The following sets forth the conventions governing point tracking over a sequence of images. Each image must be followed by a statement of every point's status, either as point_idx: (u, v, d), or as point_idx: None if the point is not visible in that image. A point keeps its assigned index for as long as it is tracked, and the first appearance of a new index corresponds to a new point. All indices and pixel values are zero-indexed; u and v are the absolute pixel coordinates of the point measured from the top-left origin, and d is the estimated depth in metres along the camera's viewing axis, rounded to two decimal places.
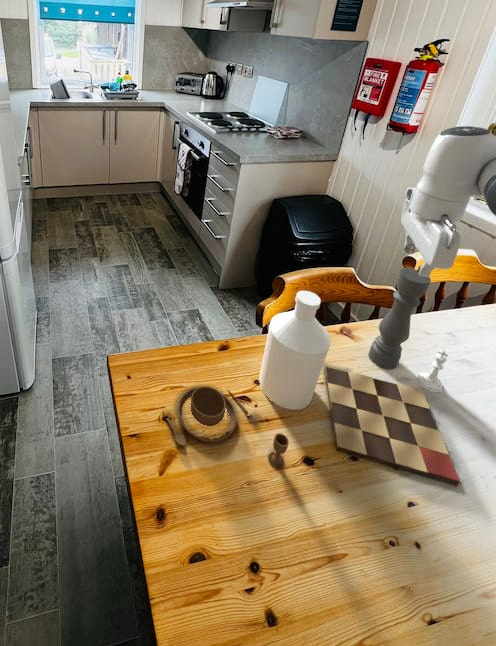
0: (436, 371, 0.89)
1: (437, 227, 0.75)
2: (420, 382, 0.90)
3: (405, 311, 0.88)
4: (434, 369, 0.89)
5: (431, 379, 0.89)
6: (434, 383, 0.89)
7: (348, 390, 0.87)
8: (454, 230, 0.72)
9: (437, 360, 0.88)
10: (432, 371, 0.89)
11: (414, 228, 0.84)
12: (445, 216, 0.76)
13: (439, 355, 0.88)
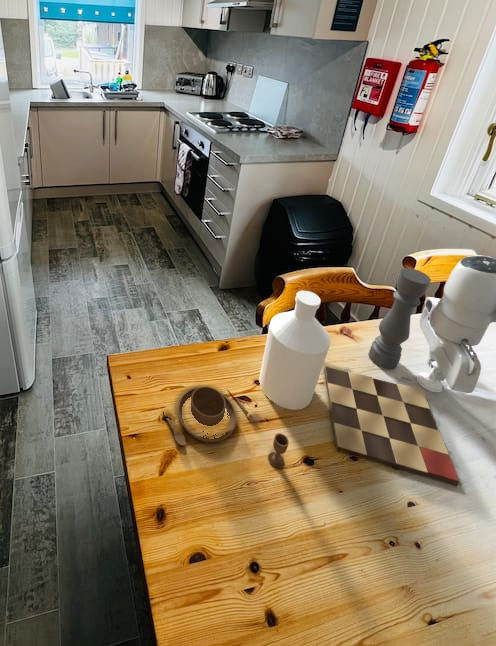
0: None
1: (458, 352, 0.79)
2: (420, 382, 0.90)
3: (405, 311, 0.88)
4: None
5: (431, 379, 0.89)
6: (434, 383, 0.89)
7: (348, 390, 0.87)
8: (475, 360, 0.76)
9: None
10: (432, 371, 0.89)
11: (434, 340, 0.88)
12: (466, 340, 0.79)
13: None
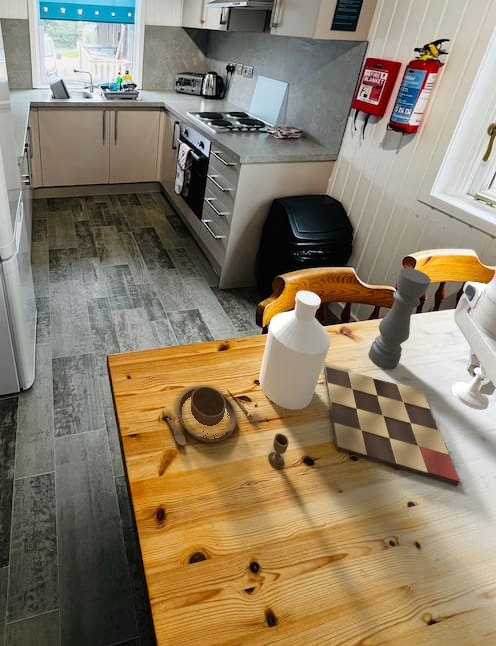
0: None
1: None
2: (457, 396, 0.67)
3: (405, 311, 0.88)
4: (477, 378, 0.66)
5: (473, 392, 0.66)
6: (477, 397, 0.66)
7: (348, 390, 0.87)
8: None
9: None
10: (474, 381, 0.66)
11: (478, 339, 0.65)
12: None
13: None
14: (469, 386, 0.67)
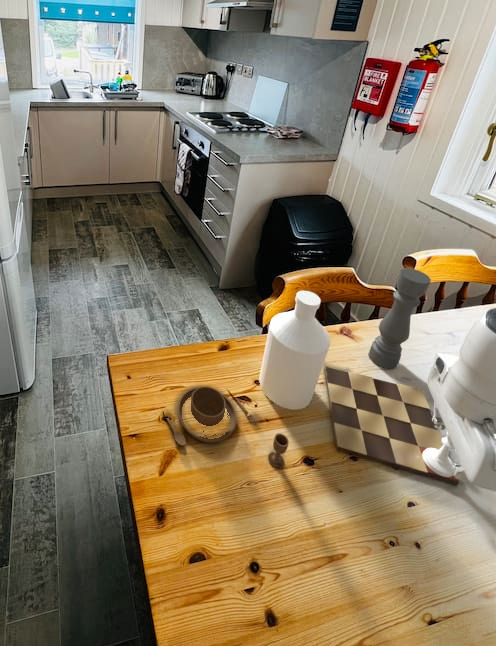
0: (447, 450, 0.71)
1: (480, 437, 0.61)
2: (427, 462, 0.72)
3: (405, 310, 0.88)
4: (444, 448, 0.71)
5: (441, 459, 0.71)
6: (444, 465, 0.71)
7: (348, 390, 0.87)
8: None
9: (448, 438, 0.70)
10: (442, 450, 0.71)
11: (447, 410, 0.70)
12: (489, 421, 0.61)
13: None
14: (437, 454, 0.72)
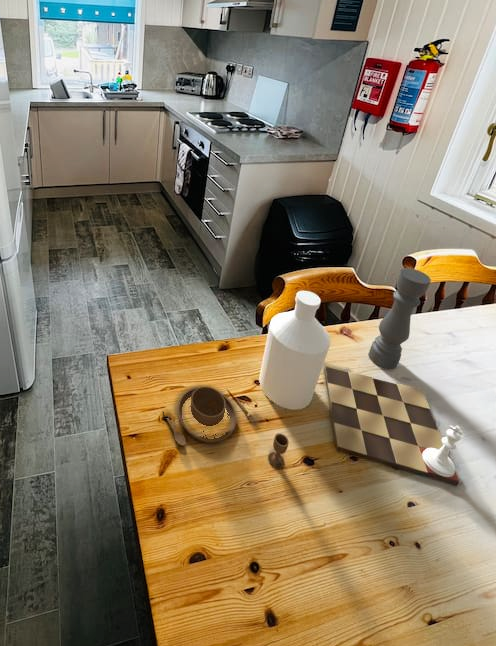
0: (447, 450, 0.71)
1: None
2: (427, 462, 0.72)
3: (405, 311, 0.88)
4: (444, 448, 0.71)
5: (441, 459, 0.71)
6: (444, 465, 0.71)
7: (348, 390, 0.87)
8: None
9: (448, 438, 0.70)
10: (442, 450, 0.71)
11: None
12: None
13: (451, 431, 0.70)
14: (437, 454, 0.72)
